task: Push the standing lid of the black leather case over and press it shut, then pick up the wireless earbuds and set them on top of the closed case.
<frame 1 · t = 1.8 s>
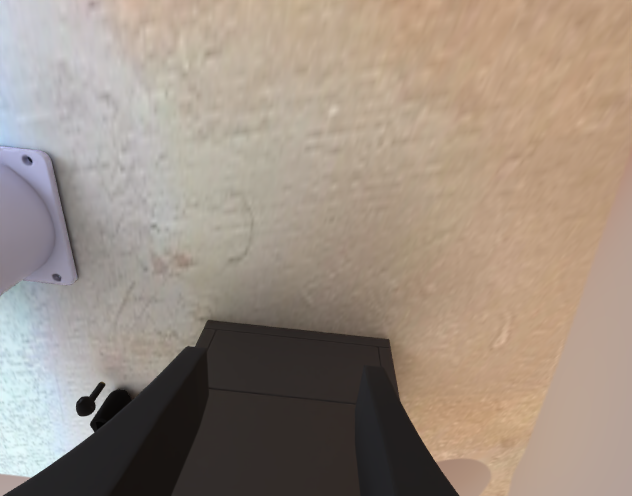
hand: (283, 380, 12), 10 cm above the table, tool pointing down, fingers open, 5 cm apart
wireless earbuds: (135, 397, 28), on the table
case: (293, 386, 27), on the table
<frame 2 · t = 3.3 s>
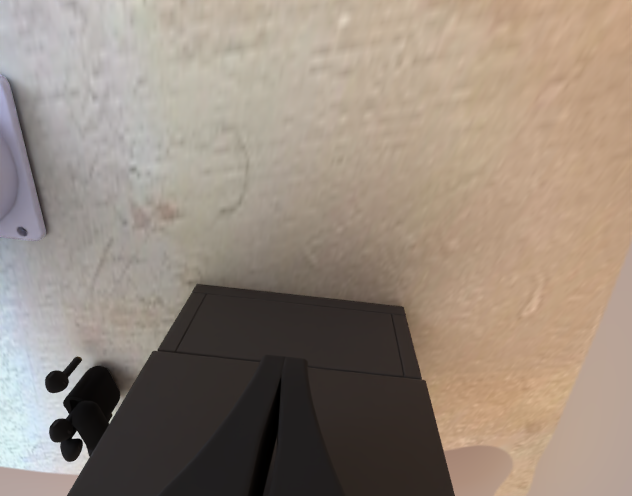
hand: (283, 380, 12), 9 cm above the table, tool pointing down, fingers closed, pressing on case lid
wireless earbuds: (116, 376, 25), on the table
case: (293, 362, 24), on the table
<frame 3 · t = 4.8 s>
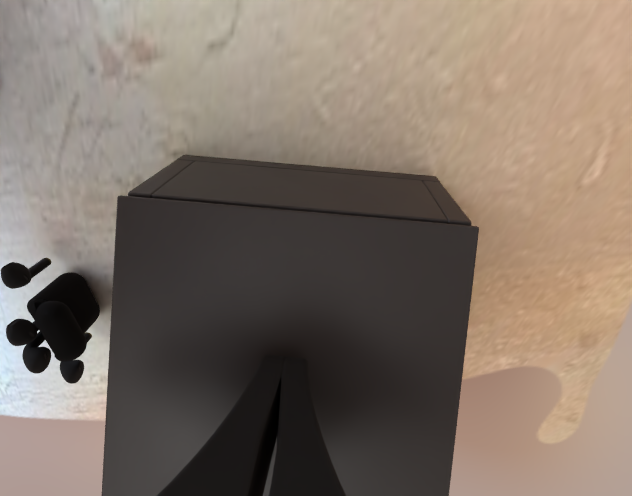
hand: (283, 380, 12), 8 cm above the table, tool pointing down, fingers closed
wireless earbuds: (95, 288, 21), on the table
case: (302, 261, 20), on the table
case lid: (284, 374, 13), point 8 cm above the table, hinge at 23.5°
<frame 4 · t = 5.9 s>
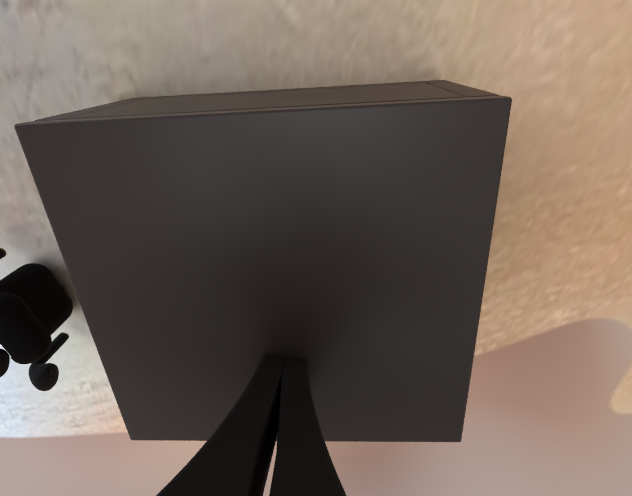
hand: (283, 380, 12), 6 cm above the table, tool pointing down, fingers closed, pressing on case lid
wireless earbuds: (65, 281, 19), on the table
case: (294, 217, 16), on the table
case lid: (276, 305, 11), point 6 cm above the table, hinge at 1.9°, touching gripper
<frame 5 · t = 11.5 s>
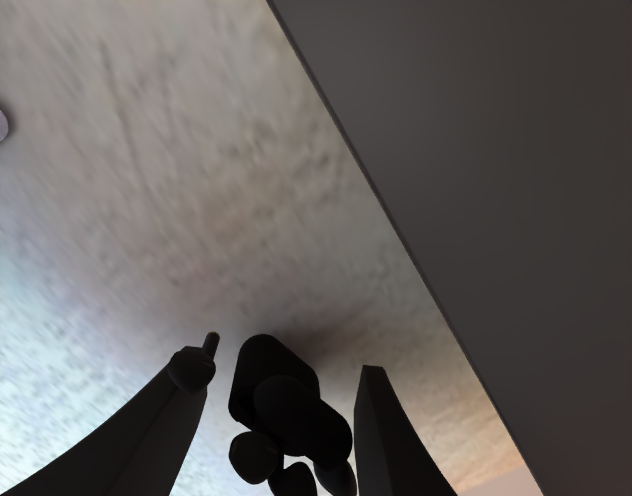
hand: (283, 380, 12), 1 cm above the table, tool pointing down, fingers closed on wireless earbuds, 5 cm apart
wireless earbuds: (290, 345, 14), on the table, touching gripper
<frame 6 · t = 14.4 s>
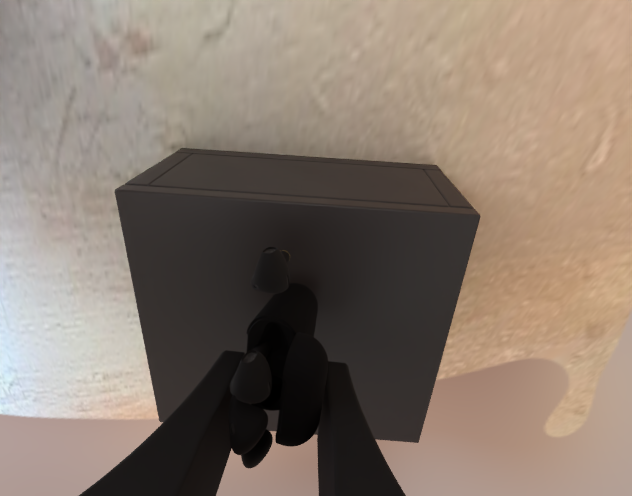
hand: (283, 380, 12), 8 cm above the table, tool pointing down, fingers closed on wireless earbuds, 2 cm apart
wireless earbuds: (312, 317, 14), point 6 cm above the table, touching case lid, gripper
case: (303, 254, 20), on the table
case lid: (292, 332, 15), point 6 cm above the table, hinge at -0.3°, touching case, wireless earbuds
when the fingers open (8 cm above the table, at t = 14.4 s): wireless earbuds stays where it is, resting on case lid.
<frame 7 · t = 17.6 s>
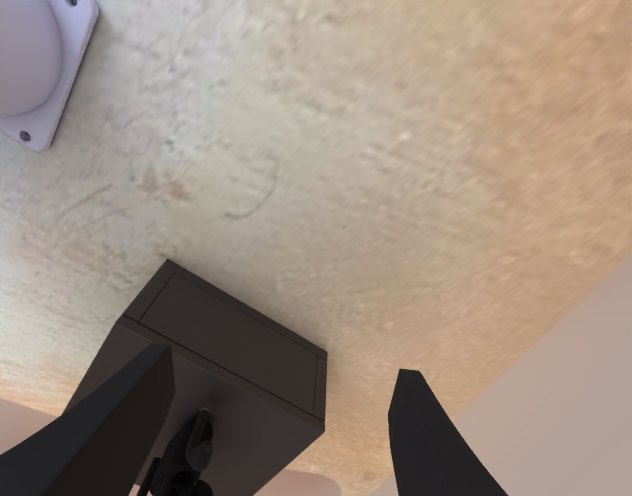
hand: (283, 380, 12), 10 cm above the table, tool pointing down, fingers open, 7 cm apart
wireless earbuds: (203, 429, 20), point 6 cm above the table, touching case lid
case: (213, 356, 26), on the table
case lid: (180, 434, 21), point 6 cm above the table, hinge at -0.3°, touching case, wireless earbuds
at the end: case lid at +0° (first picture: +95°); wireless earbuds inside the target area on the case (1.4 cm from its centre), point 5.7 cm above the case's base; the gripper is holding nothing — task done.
